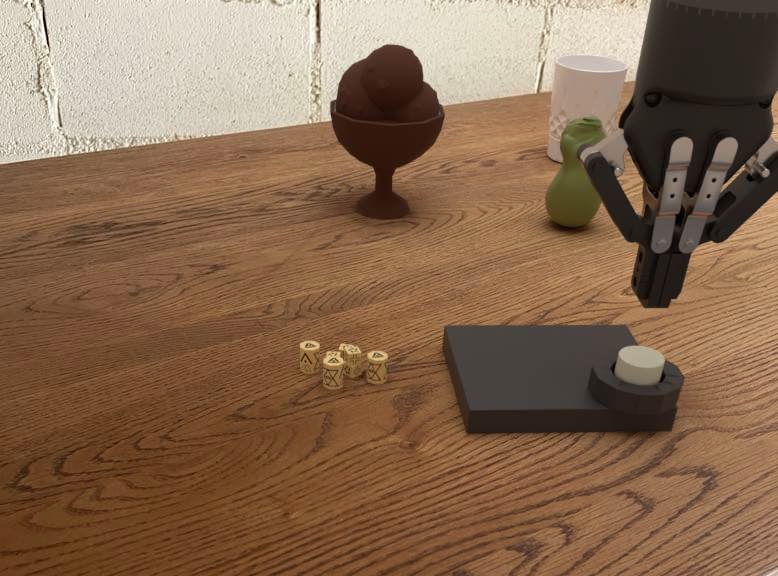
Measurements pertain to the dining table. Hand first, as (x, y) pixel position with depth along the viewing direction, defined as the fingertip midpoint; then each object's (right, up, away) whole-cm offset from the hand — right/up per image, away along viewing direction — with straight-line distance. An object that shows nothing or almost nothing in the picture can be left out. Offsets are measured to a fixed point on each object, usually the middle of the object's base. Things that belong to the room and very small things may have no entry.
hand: (652, 302), depth 59 cm
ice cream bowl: (-17, +18, +34) cm, 42 cm away
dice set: (-20, -3, +8) cm, 22 cm away
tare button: (0, -4, +3) cm, 5 cm away
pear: (+1, +16, +32) cm, 36 cm away
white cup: (+6, +29, +49) cm, 57 cm away
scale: (-5, -4, +8) cm, 10 cm away
